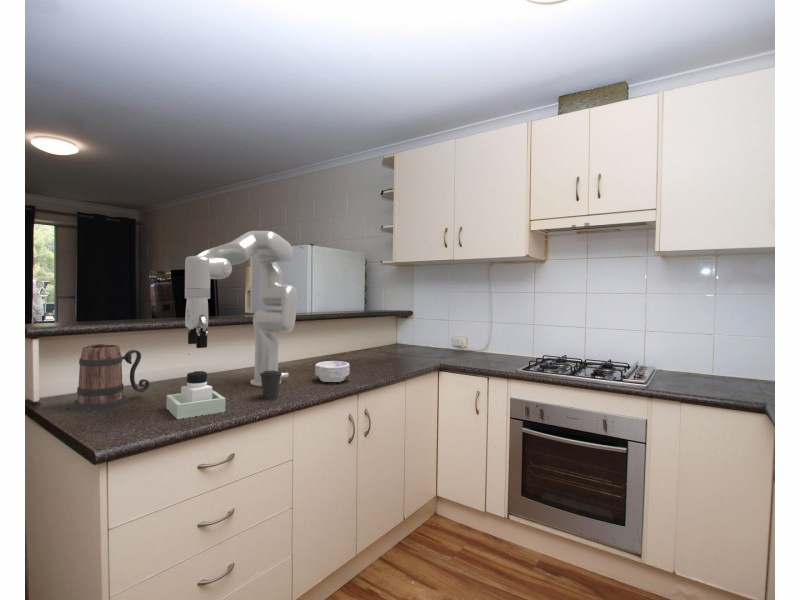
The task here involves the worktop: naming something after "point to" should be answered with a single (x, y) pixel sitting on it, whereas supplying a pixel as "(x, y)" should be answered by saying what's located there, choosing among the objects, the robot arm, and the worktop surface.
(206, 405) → the box
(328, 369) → the white ceramic bowl
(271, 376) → the coffee cup
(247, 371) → the worktop surface
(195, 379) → the medicine bottle
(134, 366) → the tankard
